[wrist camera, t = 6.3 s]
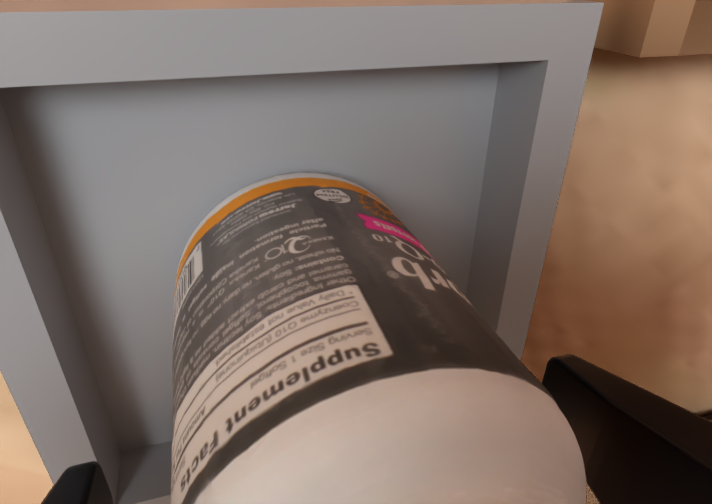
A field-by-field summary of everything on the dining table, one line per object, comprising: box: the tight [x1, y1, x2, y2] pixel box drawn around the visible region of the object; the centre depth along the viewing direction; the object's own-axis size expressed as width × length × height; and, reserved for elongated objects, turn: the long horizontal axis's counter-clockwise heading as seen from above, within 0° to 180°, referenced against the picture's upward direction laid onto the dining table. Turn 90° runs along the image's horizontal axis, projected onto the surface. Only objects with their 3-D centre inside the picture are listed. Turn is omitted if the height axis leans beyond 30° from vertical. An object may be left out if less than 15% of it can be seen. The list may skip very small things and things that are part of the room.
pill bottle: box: [170, 173, 587, 504], centre depth 8 cm, size 6×6×10 cm
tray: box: [0, 0, 604, 504], centre depth 12 cm, size 12×12×2 cm
